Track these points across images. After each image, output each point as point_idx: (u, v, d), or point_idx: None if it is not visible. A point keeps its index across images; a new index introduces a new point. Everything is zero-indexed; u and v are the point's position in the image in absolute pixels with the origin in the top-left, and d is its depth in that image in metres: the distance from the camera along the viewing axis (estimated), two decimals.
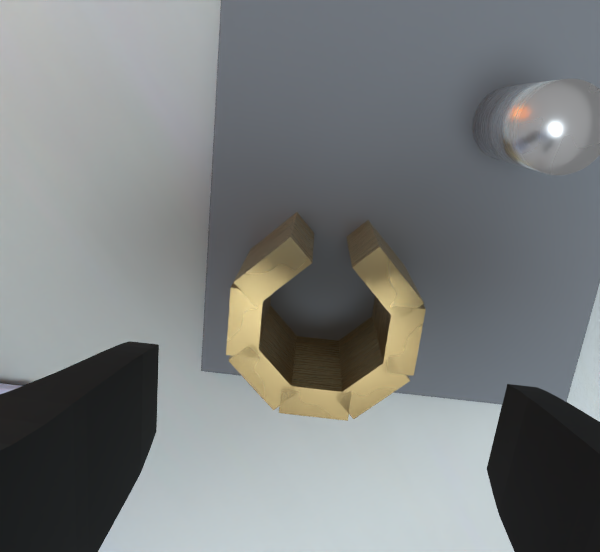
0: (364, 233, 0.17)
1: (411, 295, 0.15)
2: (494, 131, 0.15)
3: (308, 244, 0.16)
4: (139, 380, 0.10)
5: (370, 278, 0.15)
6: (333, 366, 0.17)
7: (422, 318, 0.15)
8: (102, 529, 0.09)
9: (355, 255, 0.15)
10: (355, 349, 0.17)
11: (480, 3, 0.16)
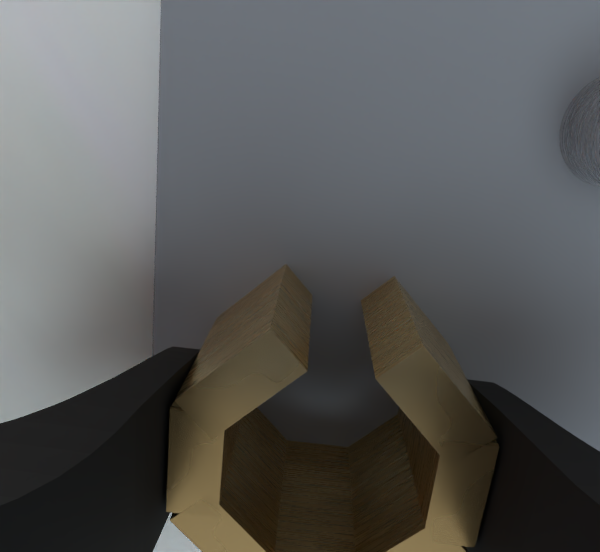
0: (390, 303, 0.11)
1: (475, 424, 0.09)
2: None
3: (302, 327, 0.10)
4: None
5: (406, 396, 0.09)
6: (341, 506, 0.11)
7: (493, 461, 0.09)
8: (154, 535, 0.09)
9: (379, 350, 0.09)
10: (375, 476, 0.11)
11: None
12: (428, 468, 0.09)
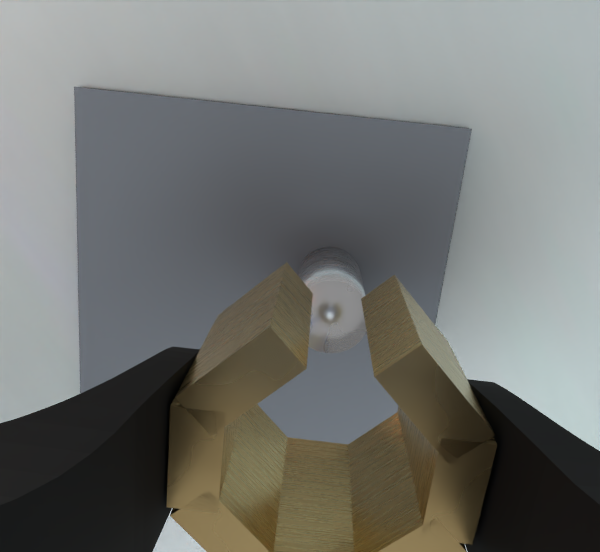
0: (390, 301, 0.11)
1: (473, 422, 0.09)
2: None
3: (302, 324, 0.10)
4: None
5: (405, 394, 0.09)
6: (340, 503, 0.11)
7: (491, 459, 0.09)
8: (153, 535, 0.09)
9: (378, 348, 0.09)
10: (374, 473, 0.11)
11: (295, 181, 0.18)
12: (426, 465, 0.10)
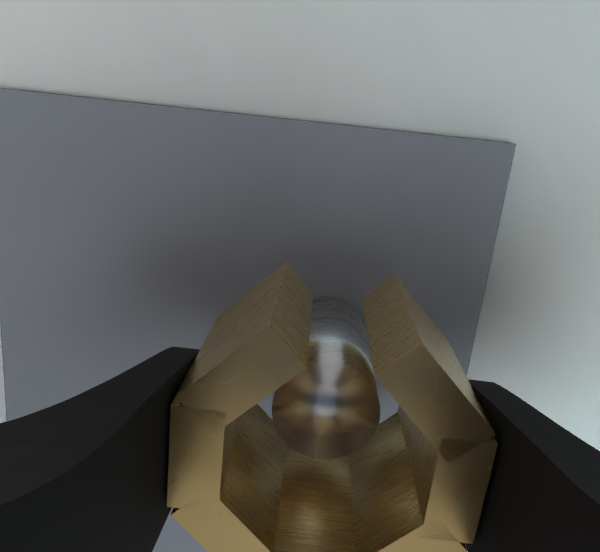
0: (390, 301, 0.11)
1: (474, 422, 0.09)
2: None
3: (302, 324, 0.10)
4: None
5: (405, 393, 0.09)
6: (341, 502, 0.11)
7: (491, 458, 0.09)
8: (153, 535, 0.09)
9: (378, 347, 0.09)
10: (374, 472, 0.11)
11: (281, 212, 0.14)
12: (427, 465, 0.09)
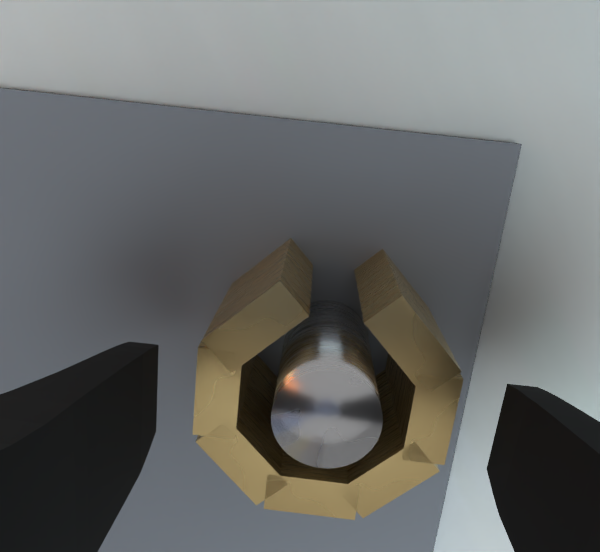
0: (378, 269, 0.13)
1: (444, 361, 0.11)
2: None
3: (304, 285, 0.12)
4: (139, 380, 0.10)
5: (388, 337, 0.11)
6: None
7: (458, 391, 0.11)
8: (102, 529, 0.09)
9: (367, 303, 0.11)
10: None
11: (281, 214, 0.14)
12: (407, 401, 0.12)
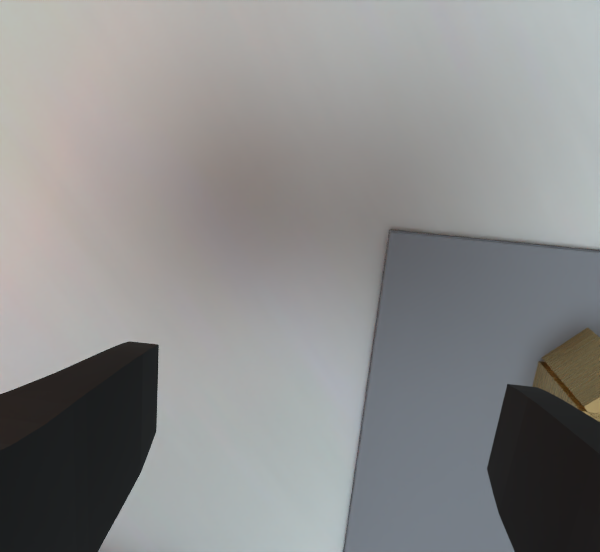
0: None
1: None
2: None
3: None
4: (139, 380, 0.10)
5: None
6: None
7: None
8: (102, 529, 0.09)
9: None
10: None
11: (583, 312, 0.20)
12: None
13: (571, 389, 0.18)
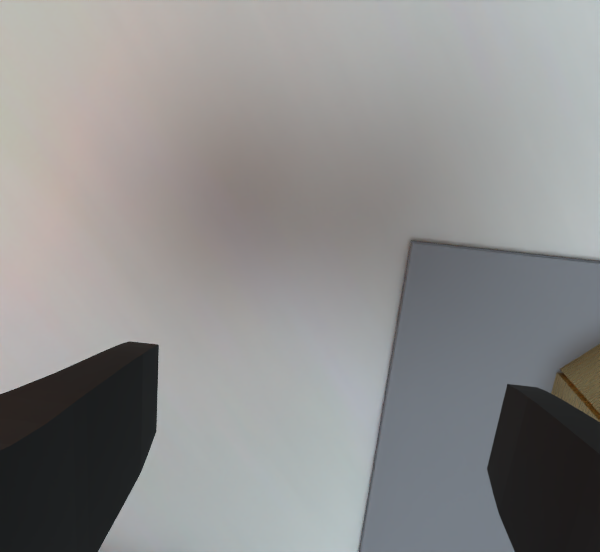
0: None
1: None
2: None
3: None
4: (139, 380, 0.10)
5: None
6: None
7: None
8: (102, 529, 0.09)
9: None
10: None
11: None
12: None
13: (592, 402, 0.19)
